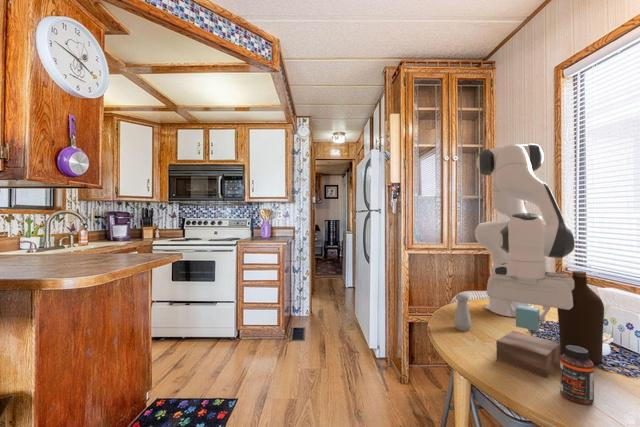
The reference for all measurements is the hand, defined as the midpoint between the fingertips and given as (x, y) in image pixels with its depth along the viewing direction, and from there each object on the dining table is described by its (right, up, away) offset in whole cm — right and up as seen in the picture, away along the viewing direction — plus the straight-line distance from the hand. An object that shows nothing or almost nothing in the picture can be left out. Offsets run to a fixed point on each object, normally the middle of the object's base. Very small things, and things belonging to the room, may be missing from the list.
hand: (527, 318), depth 87 cm
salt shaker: (-7, -13, +25) cm, 29 cm away
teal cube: (0, -2, 0) cm, 2 cm away
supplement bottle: (0, -13, -17) cm, 21 cm away
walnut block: (0, -13, 0) cm, 13 cm away
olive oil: (+18, -12, +3) cm, 22 cm away
